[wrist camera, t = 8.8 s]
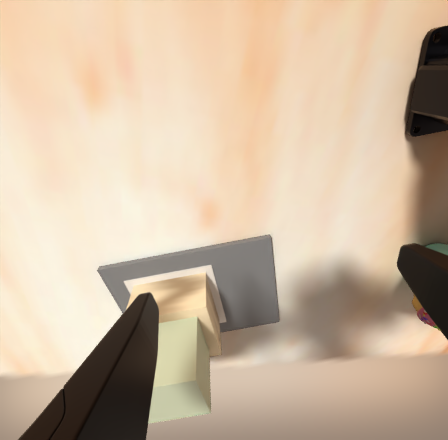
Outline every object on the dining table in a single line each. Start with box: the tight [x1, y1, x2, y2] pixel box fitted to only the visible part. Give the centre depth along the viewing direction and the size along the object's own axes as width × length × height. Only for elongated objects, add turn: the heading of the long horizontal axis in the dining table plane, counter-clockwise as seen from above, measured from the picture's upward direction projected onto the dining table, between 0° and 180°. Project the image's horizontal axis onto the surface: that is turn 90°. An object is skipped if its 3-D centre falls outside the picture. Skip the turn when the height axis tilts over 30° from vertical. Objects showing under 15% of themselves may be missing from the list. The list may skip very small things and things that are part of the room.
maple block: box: [126, 272, 222, 357], centre depth 24 cm, size 7×7×4 cm
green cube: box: [148, 317, 211, 424], centre depth 20 cm, size 5×5×5 cm
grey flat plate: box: [97, 235, 279, 332], centre depth 26 cm, size 16×12×1 cm
